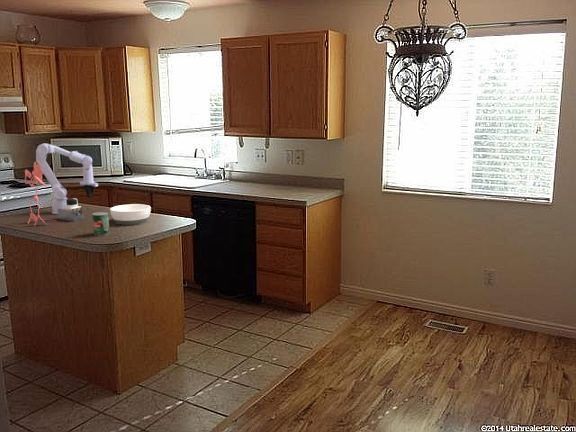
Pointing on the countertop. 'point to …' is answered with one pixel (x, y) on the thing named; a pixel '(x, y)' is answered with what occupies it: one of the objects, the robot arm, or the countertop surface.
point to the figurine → (37, 177)
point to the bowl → (130, 214)
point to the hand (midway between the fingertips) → (90, 197)
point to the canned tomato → (101, 223)
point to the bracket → (69, 215)
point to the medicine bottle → (73, 206)
